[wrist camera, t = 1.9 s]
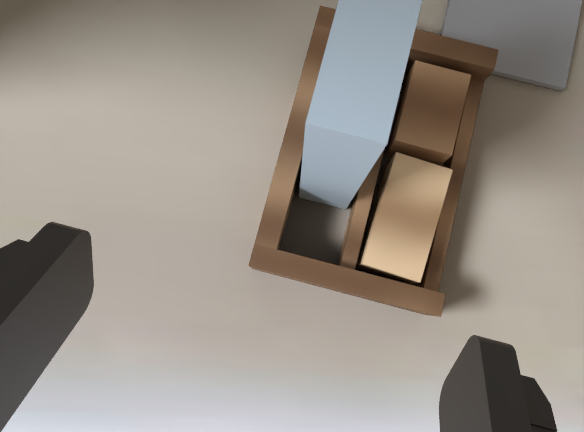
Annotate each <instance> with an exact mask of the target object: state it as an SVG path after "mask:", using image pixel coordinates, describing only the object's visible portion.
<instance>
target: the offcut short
mask: <svg viewBox="0 0 584 432" xmlns="http://www.w3.org/2000/svg"><path fill="white" fill-rule="evenodd" d="M470 78H471V75H470V74H466V73H462V72H459V71H455V70H451V69H447V68H443V67H439V66H436V65H432V64H428V63H424V62H420V61H417V60H415V62H414V64H413V66H412V68H411V70H410V72H409V73H408V75H407V77H406V79H405V81H404V83H403V87H402V91H401V95H400V99H399V103H398V107H397V110H396V114H395V118H394V122H393V126H392V130H391V134H390V138H389V142H388V145H387V149H386V153H385V155H387V156H391V157H393V156H394V155H395V153H396V152H398V153H401V154H404V155H407V156H411V157H414V158H417V159H420V160H423V161H426V162H430V163H433V164H436V165H439V166H440V165H441V164H443V163H444V162H445V161H446V160H447V159H448V158H450V157H451V156H452V154H453V149H454V145H455V141H456V137H457V133H458V128H459V124H460V120H461V116H462V112H463V107H464V103H465V99H466V95H467V91H468V86H469V82H470Z"/></svg>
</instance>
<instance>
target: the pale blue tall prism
mask: <svg viewBox="0 0 584 432" xmlns="http://www.w3.org/2000/svg"><path fill="white" fill-rule="evenodd" d="M421 4H422V0H339V1H338V4H337V8H336V12H335V16H334V19H333V23H332V27H331V30H330V34H329V38H328V41H327V45H326V49H325V52H324V56H323V60H322V64H321V67H320V71H319V75H318V78H317V82H316V86H315V89H314V93H313V97H312V101H311V104H310V108H309V112H308V115H307V119H306V123H305V133H304V144H303V156H302V167H301V178H300V189H299V198H303V199H307V200H311V201H315V202H319V203H322V204H326V205H330V206H334V207H338V208H342V209H345V210H346V208H347V207H348V205H349V203H350V202H351V200H352V199H353V197H354V196H355V194H356V192H357V191H358V189H359V188H360V186H361V184H362V183H363V181H364V180H365V178H366V177H367V175H368V173H369V172H370V170H371V169H372V167H373V166H374V164H375V162H376V161H377V159H378V158H379V156H380V155H381V153H382V151H383V150H384V148H385V147H386V145H387V143H388V139H389V135H390V131H391V126H392V122H393V118H394V114H395V110H396V106H397V102H398V98H399V94H400V90H401V85H402V81H403V77H404V73H405V69H406V65H407V61H408V57H409V53H410V49H411V45H412V40H413V36H414V32H415V28H416V24H417V20H418V16H419V12H420V8H421Z"/></svg>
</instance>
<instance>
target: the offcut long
mask: <svg viewBox="0 0 584 432" xmlns="http://www.w3.org/2000/svg"><path fill="white" fill-rule="evenodd" d="M452 171H453V170H452V169H448V168H445V167H442V166H439V165H436V164H433V163H430V162H426V161H423V160H420V159H417V158H414V157H411V156H407V155H404V154H401V153H398V152H396V153H395V155H394V156H393V157H392V159H391V160H390V161H389V163H388V164H387V165H386V168H385V171H384V175H383V178H382V181H381V184H380V188H379V191H378V194H377V197H376V201H375V204H374V207H373V210H372V214H371V217H370V220H369V223H368V227H367V230H366V233H365V236H364V240H363V243H362V246H361V249H360V253H359V256H358V259H357V263H356V267H357V268H360V269H363V270H366V271H369V272H372V273H375V274H378V275H381V276H384V277H388V278H391V279H394V280H397V281H400V282H403V283H406V284H413V283H420V282H421V279H422V275H423V272H424V268H425V265H426V261H427V258H428V254H429V251H430V248H431V244H432V241H433V237H434V234H435V230H436V227H437V223H438V220H439V216H440V213H441V209H442V206H443V202H444V199H445V195H446V192H447V188H448V185H449V182H450V178H451V175H452Z"/></svg>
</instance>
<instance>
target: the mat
mask: <svg viewBox="0 0 584 432" xmlns="http://www.w3.org/2000/svg"><path fill="white" fill-rule="evenodd" d="M582 1H583V0H449V2H448V7H447V11H446V15H445V19H444V24H443V28H442V32H441V35H442V36H446V37H450V38H454V39H458V40H462V41H466V42H470V43H474V44H478V45H482V46H486V47H490V48H494V49H498V50H499V51H498V56H497V60H496V65H495V69H494V70H493V72H492V73H491V74H494V75H498V76H502V77H506V78H510V79H514V80H518V81H522V82H526V83H530V84H534V85H538V86H542V87H546V88H550V89H555V90H559V91H563V90H564V89H565V88H566V83H567V78H568V73H569V68H570V63H571V58H572V53H573V47H574V42H575V37H576V32H577V27H578V22H579V17H580V11H581V6H582Z"/></svg>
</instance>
